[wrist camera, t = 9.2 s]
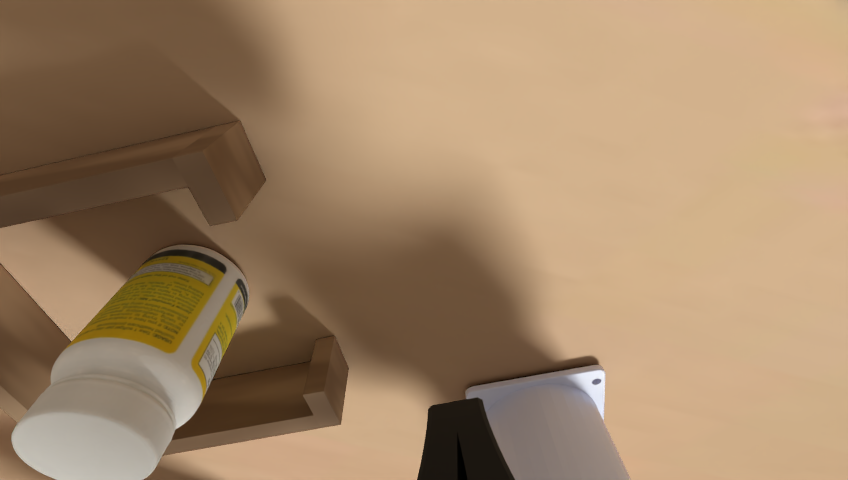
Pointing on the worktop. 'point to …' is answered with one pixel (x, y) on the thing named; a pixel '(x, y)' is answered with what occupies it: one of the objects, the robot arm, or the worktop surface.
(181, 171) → the walled box
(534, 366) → the worktop surface
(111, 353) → the supplement bottle
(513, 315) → the worktop surface
